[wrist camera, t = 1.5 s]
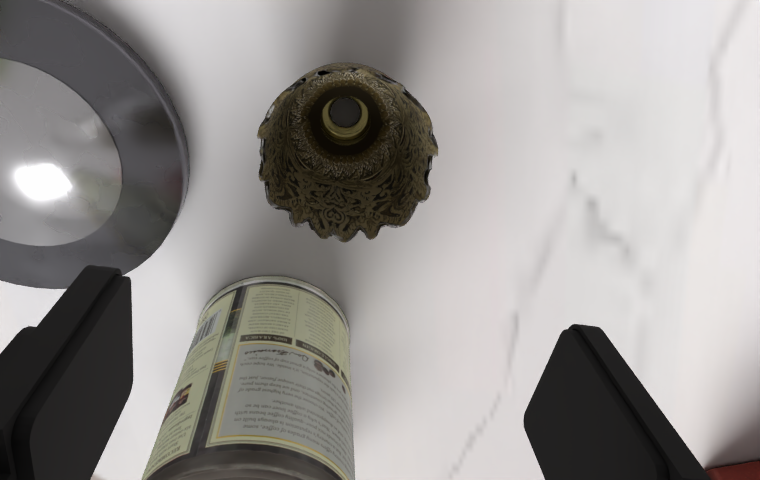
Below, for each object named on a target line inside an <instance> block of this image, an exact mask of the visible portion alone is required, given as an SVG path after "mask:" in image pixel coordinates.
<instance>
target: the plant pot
mask: <svg viewBox="0 0 760 480" xmlns="http://www.w3.org/2000/svg"><path fill="white" fill-rule="evenodd" d="M706 473H707V474H708V476H709V477H710V478H711V480H760V461H756V462H749V463H743V464H738V465H732V466H726V467H720V468H714V469H710V470H708V471H707V472H706Z"/></svg>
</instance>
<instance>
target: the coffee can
mask: <svg viewBox="0 0 760 480" xmlns="http://www.w3.org/2000/svg"><path fill="white" fill-rule="evenodd" d="M349 344H350V332H349V327H348V323H347V320H346V318H345V316H344V314H343V312H342V310H341V309H340V307H339V306H338V304H337V303H336V302H335V301H334V300H333V299H332V298H330V297H329V296H328V295H327V294H326V293H325V292H323V291H322V290H320V289H319V288H317V287H315V286H313V285H311V284H308V283H306V282H303V281H300V280H297V279H293V278H288V277H283V276H263V277H253V278H249V279H245V280H242V281H239V282H236V283H234V284H232V285H230V286H228V287H226V288H224V289H223V290H222V291H220V292H219V293H218V294H217V295H215V296H214V297H213V298H212V299H211V300H210V302H209V303H208V304H207V305H206V307H205V308H204V310H203V312H202V314H201V316H200V318H199V321H198V325H197V330H196V333H195V336H194V338H193V341H192V344H191V346H190V349H189V351H188V354H187V357H186V360H185V363H184V365H183V368H182V371H181V374H180V376H179V379H178V382H177V384H176V387H175V390H174V392H173V395H172V398H171V401H170V403H169V406H168V409H167V411H166V414H165V417H164V419H163V422H162V425H161V428H160V431H159V433H158V436H157V439H156V442H155V444H154V447H153V450H152V453H151V455H150V458H149V461H148V463H147V466H146V469H145V471H144V474H143V477H142V480H355V467H354V446H353V421H352V398H351V378H350V356H349Z"/></svg>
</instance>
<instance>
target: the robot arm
mask: <svg viewBox="0 0 760 480" xmlns="http://www.w3.org/2000/svg"><path fill="white" fill-rule="evenodd" d="M132 384H133V347H132V302H131V280H130V278H129V277H126V276H122V272H121V270H120V269H119V268H113V267H104V266H96V265H87V266H86V267H85V268H84V269H83V270H82V271H81V273H80V274H79V275H78V276H77V278H76V279H75V280H74V281H73V283H72V284H71V285H70V286H69V287H68V289H67V290H66V291H65V292H64V294H63V295H62V296H61V297H60V299H59V300H58V301H57V302H56V304H55V305H54V306H53V307H52V309H51V310H50V311H49V312H48V313H47V315H46V316H45V317H44V318H43V320H42V321H41V322H40V323H39V325H38V326H37V327H31V326H28V327H26V328H23V329H22V330H21V331H20V332H19V333H18V334H17V335H16V336H15V337H14V338H13V340H12V341H11V342H10V343H9V344H8V346H7V347H6V348H5V349H4V350H3V351H2V353H1V354H0V480H90V479H91V477H92V475H93V472H94V470H95V468H96V466H97V464H98V462H99V460H100V457H101V455H102V453H103V451H104V449H105V447H106V445H107V442H108V440H109V438H110V436H111V434H112V432H113V430H114V427H115V425H116V423H117V421H118V419H119V417H120V415H121V412H122V410H123V408H124V406H125V404H126V402H127V400H128V397H129V395H130V392H131V389H132ZM524 428H525V431H526V434H527V436H528V439H529V441H530V443H531V446H532V448H533V451H534V453H535V456H536V458H537V461H538V463H539V465H540V468H541V470H542V473H543V475H544V478H545V480H711V478H710V477H709V476H708V474H707V473H706V472H705V470H704V469H703V468H702V466H701V465H700V463H699V462H698V461H697V459H696V458H695V457H694V455H693V454H692V452H691V451H690V450H689V448H688V447H687V446H686V444H685V443H684V441H683V440H682V439H681V437H680V436H679V435H678V433H677V432H676V430H675V429H674V428H673V426H672V425H671V424H670V422H669V421H668V419H667V418H666V417H665V415H664V414H663V413H662V411H661V410H660V408H659V407H658V406H657V404H656V403H655V402H654V400H653V399H652V398H651V396H650V395H649V393H648V392H647V391H646V389H645V388H644V387H643V385H642V384H641V382H640V381H639V380H638V378H637V377H636V376H635V374H634V373H633V371H632V370H631V369H630V367H629V366H628V365H627V363H626V362H625V360H624V359H623V358H622V356H621V355H620V354H619V352H618V351H617V349H616V348H615V347H614V345H613V344H612V343H611V341H610V340H609V338H608V337H607V336H606V334H605V333H604V332H603V330H602V329H601V328H599V327H595V326H587V325H579V324H574V325H571V326H570V327H569V329H568V330H567V329H566V330H564V331H562V333H561V334H560V337H559V339H558V341H557V343H556V345H555V348H554V350H553V352H552V354H551V356H550V359H549V361H548V363H547V365H546V367H545V370H544V372H543V374H542V376H541V378H540V381H539V383H538V385H537V387H536V389H535V392H534V394H533V396H532V398H531V400H530V403H529V405H528V407H527V409H526V411H525V414H524Z"/></svg>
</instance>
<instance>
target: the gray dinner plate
mask: <svg viewBox="0 0 760 480" xmlns="http://www.w3.org/2000/svg"><path fill="white" fill-rule="evenodd" d="M188 180H189V156H188V150H187V145H186V139H185V135H184V132H183V129H182V126H181V123H180V119H179V117H178V115H177V113H176V110H175V108H174V106H173V104H172V102H171V100H170V98H169V96H168V95H167V93H166V91H165V90H164V88H163V86H162V85H161V83H160V82H159V80H158V79H157V77H156V76H155V75H154V74H153V72H152V71H151V70H150V68H149V67H148V66H147V65H146V63H145V62H144V61H143V60H142V59H141V58H140V57H139V56H138V55H137V54H136V53H135V52H134V51H133V50H132V49H131V48H130V46H129V45H128V44H126V43H125V42H124V41H123V40H122V39H120V38H119V37H118V36H117V35H116V34H114V33H113V32H112V31H111V30H110V29H108V28H107V27H105V26H104V25H102V24H101V23H99V22H98V21H96V20H95V19H94V18H92V17H91V16H89V15H88V14H86V13H84V12H82V11H80V10H78V9H76V8H74V7H72V6H71V5H69V4H67V3H65V2H62V1H60V0H0V280H1V281H5V282H9V283H13V284H16V285H22V286H28V287H35V288H47V289H68V287H69V286H70V285H71V284H72V283H73V281H74V280H75V279H76V278H77V276H78V275H79V274H80V273H81V271H82V270H83V269H84V268H85V267H86V266H87V265H96V266H104V267H113V268H119V269H120V270H121V272H122V275H125V274H126V273H128V272H130V271H131V270H133V269H135V268H137V267H138V266H139V265H141V264H142V263H143V262H144V261H146V260H147V259H148V258H149V257H151V255H152V254H153V253H154V252H155V251H156V250H157V249H158V248H159V247H160V246H161V244H162V243H163V241H164V240H165V238H166V237H167V235H168V234H169V232H170V230H171V229H172V227H173V226H174V224H175V222H176V221H177V219H178V216H179V214H180V212H181V210H182V207H183V205H184V201H185V197H186V194H187V189H188Z"/></svg>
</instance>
